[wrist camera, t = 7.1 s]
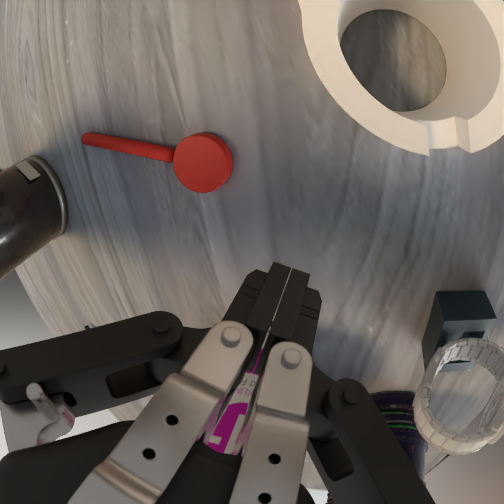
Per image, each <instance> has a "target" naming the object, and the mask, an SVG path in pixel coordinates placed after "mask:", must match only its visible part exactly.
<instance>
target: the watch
mask: <svg viewBox="0 0 504 504" xmlns="http://www.w3.org/2000/svg"><path fill="white" fill-rule="evenodd" d="M496 320H497V318H496V315H495V313H494V310H493V308H492V306H491V304H490V301H489V299H488V297H487V295H486V293H485V291H436V294H435V298H434V302H433V306H432V310H431V314H430V317H429V321H428V324H427V328H426V331H425V334H424V337H423V341H422V351H423V359H424V367H425V373H424V376H423V378H422V380H421V383H420V385H419V387H418V389H417V392H416V395H415V398H414V401H413V404H412V406H414V420H415V423H416V426H417V429H418V431H419V432H420V434H421V435H422V434H423V435H422V437H423V438H424V439H425V440H426V441H427V442H428V443H429V444H431V443H432V444H431V446H432V447H434V448H435V449H437V450H439V451H442V452H444V453H447V454H452V455H453V454H455V455H464V454H466V453H467V454H469V453H473V452H476V451H478V450H479V449H480V448H482V447H483V446H484V445H485V444H486V443H489V444H493V443H495V442H496V441H497V440H498V439H499V438H500V437H501V436H502V435H503V434H504V349H503V348H501V347H500V348H499V345H497V344H495V343H493V342H490V343H489V341H488V338H489V336H490V334H491V332H492V329H493V327H494V325H495V322H496ZM488 344H489V345H488ZM497 350H498V351H497ZM492 352H493V353H492ZM491 354H492V355H491ZM490 355H491V356H490ZM489 357H490V358H489ZM501 358H502V359H501ZM488 359H489V360H488ZM500 360H501V361H500ZM476 363H477V364H478V363H479V364H480V365H481V366H483V367H484V368H486V369H487V368H488V367H489V368H488V371H489V372H490V373H491V374H492V375H493V376H495V379H496V380H497V382H498V383H496V384H495V387H494V391H493V393H492V395H491V397H490V399H489V401H488V403H487V405H486V407H485V409H484V412H483V414H482V417H481V419H480V422H479V425H478V431H477V434H474V435H470V436H469V435H468V434H462V433H457V434H456V432H455V431H454V430H452V429H450V428H448V427H445V428H444V425H443V424H442V423H441V422H440V421H439V420H438V419H434V418H435V416H434V414H433V413H432V411H431V409H430V408H428V406H429V404H428V403H429V401H430V392H431V387H432V385H433V381H434V377H435V376H436V374H437V373H439V372H456V371H469V370H473V368H474V366H475V364H476ZM489 365H490V366H489ZM497 365H498V366H497ZM443 428H444V429H443ZM435 431H436V432H435ZM434 432H435V433H434ZM432 435H433V436H432ZM445 440H446V441H445ZM444 441H445V442H444Z"/></svg>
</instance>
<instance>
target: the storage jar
mask: <svg viewBox="0 0 504 504" xmlns="http://www.w3.org/2000/svg"><path fill="white" fill-rule="evenodd" d="M415 395H416V394H413V393H409V392H403V391H386V392H378V393H373V394H370V396H371V398H372V399H373V401H374V402H375V404H376V406H377V407H378V409H379V410H380V412H381V414H382V415H383V417H384V419H385V420H386V422H387V423H388V425H389V427H390V428H391V430H392V432H393V433H394V435H395V436H396V438H397V440H398V441H399V443H400V445H401V446H402V448H403V450H404V451H405V453H406V455H407V456H408V458H409V460H410V461H411V463H412V465H413V466H414V468H415V470H416V471H417V473H418V475H419V476H420V478H421V480H422V481H423V483H424V485H425V487H426V482H425V481H424V473H425V453H426V452H427V449H428V442H427V441H426V440H425V439H424V438H423V437H422V435H423V434H422V435H421V434H420V432H419V431H418V429H417V426H416V423H415V420H414V406H412V404H413V401H414V398H415ZM327 496H328V499H327V503H326V504H335V503H334V501H333V499H332V498H331V496H330V494H329V493H328V495H327Z"/></svg>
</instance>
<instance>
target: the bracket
mask: <svg viewBox="0 0 504 504" xmlns="http://www.w3.org/2000/svg"><path fill="white" fill-rule="evenodd" d="M298 3H299V5H300V8H301V11H302V29H303V35H304V41H305V44H306V47H307V50H308V54H309V57H310V59H311V62H312V64H313V66H314V69H315V71H316V72H317V74H318V76H319V78H320V80H321V81H322V83H323V84H324V86H325V87H326V89H327V90H328V92H329V93H330V94H331V95H332V97H333V98H334V99H335V100H336V102H337V103H338V104H339V105H340V106H341V107H342V108H343V109H344V110H345V111H346V112H347V113H348V114H349V115H350V116H351V117H352V118H353V119H354V120H355V121H357V122H358V123H359V124H360V125H362V126H363V127H364V128H366V129H367V130H368V131H370V132H371V133H373V134H375V135H376V136H378V137H379V138H381V139H383V140H385V141H387V142H389V143H390V144H393V145H395V146H398V147H400V148H402V149H405V150H408V151H411V152H414V153H419V154H423V155H428V156H429V149H442V148H449V147H454V146H459V147H461V148H463V149H464V150H466V151H468V152H469V153H474V152H476V151H479V150H481V149H484V148H485V147H487V146H489V145H491V144H492V143H494V142H495V141H497V140H498V139H499V138H500V137H501V136H502V135H503V134H504V2H503V1H502V0H298ZM377 9H390V10H396V11H400V12H403V13H406V14H408V15H410V16H412V17H414V18H416V19H417V20H419V21H420V22H421V23H423V24H424V25H425V26H426V27H427V28H428V29H429V30H430V31H431V32H432V33H433V34H434V36H435V37H436V38H437V40H438V42H439V43H440V45H441V47H442V49H443V52H444V55H445V59H446V67H447V73H446V80H445V83H444V86H443V88H442V90H441V92H440V94H439V95H438V96H437V97H436V99H435V100H434V101H432V102H431V103H430V104H428V105H427V106H425V107H423V108H421V109H418V110H414V111H408V112H399V111H392V110H390V109H388V108H387V107H385V106H384V105H382V104H381V103H380V102H378V101H377V100H376V99H375V98H374V97H373V96H372V95H370V94H369V93H368V92H367V91H366V89H365V88H364V87H363V86H362V85H361V84H360V83H359V81H358V80H357V79H356V77H355V76H354V74H353V73H352V71H351V70H350V68H349V66H348V64H347V62H346V61H345V58H344V56H343V53H342V51H341V48H340V42H341V38H342V35H343V33H344V31H345V29H346V27H347V26H348V25H349V24H350V22H351V21H352V20H354V19H355V18H356V17H358V16H359V15H361V14H363V13H365V12H368V11H372V10H377Z"/></svg>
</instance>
